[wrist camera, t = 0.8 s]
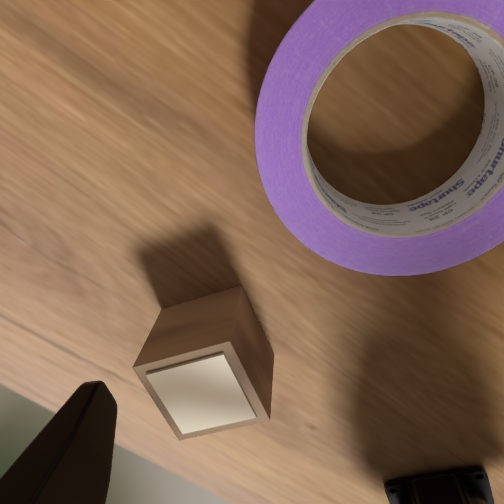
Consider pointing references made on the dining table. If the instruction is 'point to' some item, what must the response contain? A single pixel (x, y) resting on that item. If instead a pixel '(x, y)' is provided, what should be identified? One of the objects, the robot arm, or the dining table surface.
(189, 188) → the dining table surface
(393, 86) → the dining table surface
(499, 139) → the masking tape
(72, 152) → the dining table surface
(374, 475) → the dining table surface
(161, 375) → the walnut block
